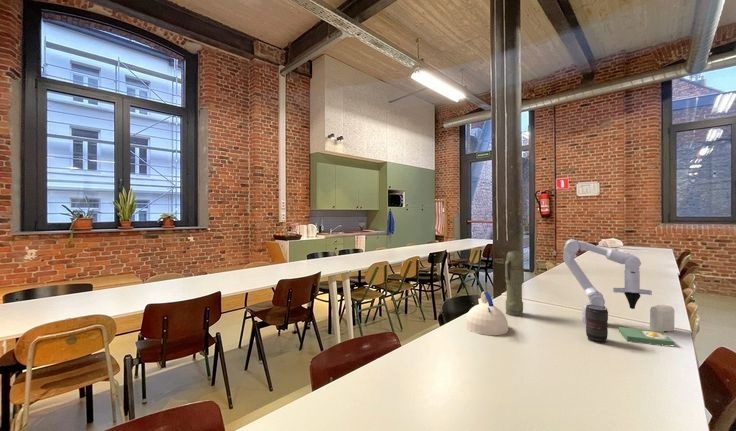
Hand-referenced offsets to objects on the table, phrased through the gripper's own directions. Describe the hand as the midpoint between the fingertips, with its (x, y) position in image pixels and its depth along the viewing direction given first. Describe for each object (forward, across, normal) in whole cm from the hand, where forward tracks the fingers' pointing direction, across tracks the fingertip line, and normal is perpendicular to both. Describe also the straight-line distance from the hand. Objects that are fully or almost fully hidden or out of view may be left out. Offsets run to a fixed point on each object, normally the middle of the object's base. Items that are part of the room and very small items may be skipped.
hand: (632, 308), depth 157 cm
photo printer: (+10, +12, +2) cm, 16 cm away
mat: (+10, +1, -13) cm, 16 cm away
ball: (+8, +4, -14) cm, 16 cm away
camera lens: (+10, -19, -23) cm, 31 cm away
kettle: (+10, -65, -24) cm, 70 cm away
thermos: (+10, -52, +4) cm, 53 cm away
